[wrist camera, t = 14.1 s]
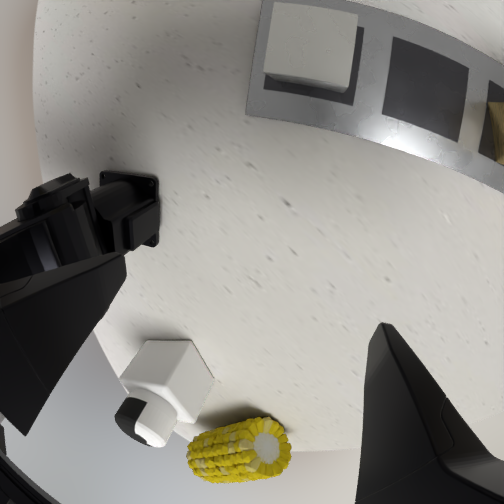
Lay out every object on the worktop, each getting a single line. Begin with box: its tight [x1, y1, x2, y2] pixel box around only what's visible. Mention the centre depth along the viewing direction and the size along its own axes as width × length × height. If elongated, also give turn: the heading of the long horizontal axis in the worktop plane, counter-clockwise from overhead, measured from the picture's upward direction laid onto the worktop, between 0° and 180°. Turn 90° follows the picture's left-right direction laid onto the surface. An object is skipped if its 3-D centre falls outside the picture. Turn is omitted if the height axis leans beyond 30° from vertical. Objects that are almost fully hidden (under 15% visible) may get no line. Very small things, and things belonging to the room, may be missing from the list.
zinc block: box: [263, 2, 358, 93], centre depth 13 cm, size 4×4×4 cm
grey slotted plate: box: [245, 0, 504, 193], centre depth 14 cm, size 26×10×1 cm, turn 83°
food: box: [186, 417, 292, 483], centre depth 33 cm, size 15×12×10 cm
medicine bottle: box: [115, 340, 214, 447], centre depth 28 cm, size 7×7×12 cm
